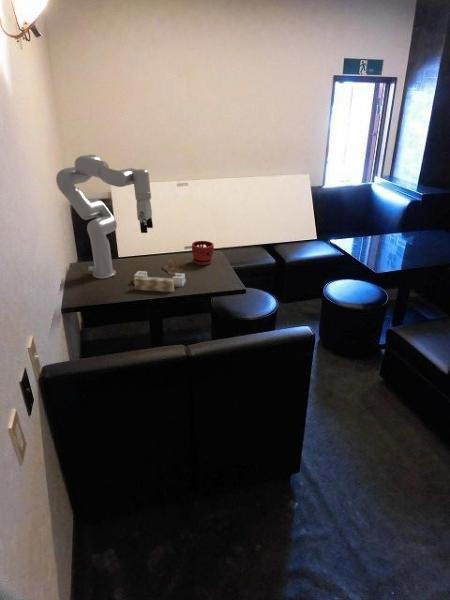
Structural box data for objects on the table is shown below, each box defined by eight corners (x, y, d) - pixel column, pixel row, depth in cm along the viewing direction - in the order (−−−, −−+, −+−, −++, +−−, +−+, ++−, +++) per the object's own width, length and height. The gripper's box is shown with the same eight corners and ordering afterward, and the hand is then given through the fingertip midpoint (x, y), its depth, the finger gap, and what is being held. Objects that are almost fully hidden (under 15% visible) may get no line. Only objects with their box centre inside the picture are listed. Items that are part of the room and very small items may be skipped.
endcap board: (133, 283, 217) (132, 275, 215) (138, 278, 224) (137, 270, 222) (182, 286, 213) (182, 278, 212) (186, 280, 221) (186, 273, 219)
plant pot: (193, 267, 240) (193, 247, 235) (191, 259, 252) (190, 240, 247) (215, 265, 242) (215, 246, 237) (211, 258, 254) (211, 239, 249)
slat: (135, 289, 210) (134, 279, 208) (136, 288, 212) (135, 277, 210) (172, 292, 208) (172, 281, 205) (174, 290, 210) (173, 279, 207)
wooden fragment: (180, 275, 229) (180, 273, 229) (160, 275, 228) (160, 273, 228) (181, 259, 252) (181, 258, 252) (163, 260, 252) (163, 258, 251)
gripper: (141, 192, 207) (144, 226, 214) (130, 199, 191) (134, 234, 198) (155, 192, 206) (158, 226, 213) (145, 199, 190) (149, 234, 198)
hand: (147, 230), depth 206 cm, fingers open, 9 cm apart
